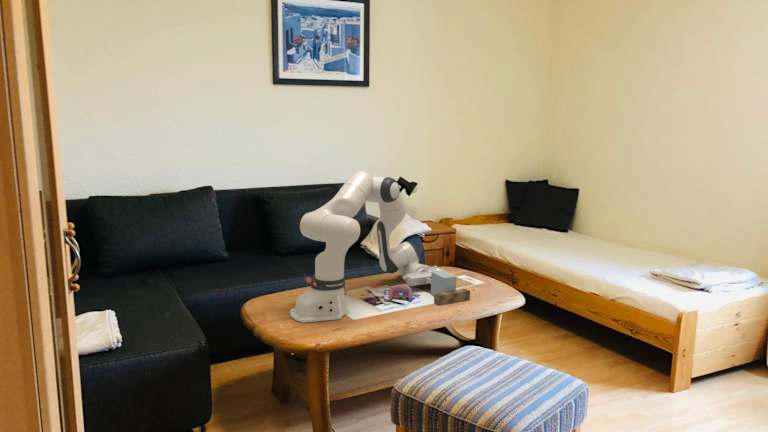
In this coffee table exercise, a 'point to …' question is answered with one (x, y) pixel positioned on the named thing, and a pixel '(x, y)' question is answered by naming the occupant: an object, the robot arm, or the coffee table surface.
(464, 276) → the photo frame
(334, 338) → the coffee table surface
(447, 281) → the block
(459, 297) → the board
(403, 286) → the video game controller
